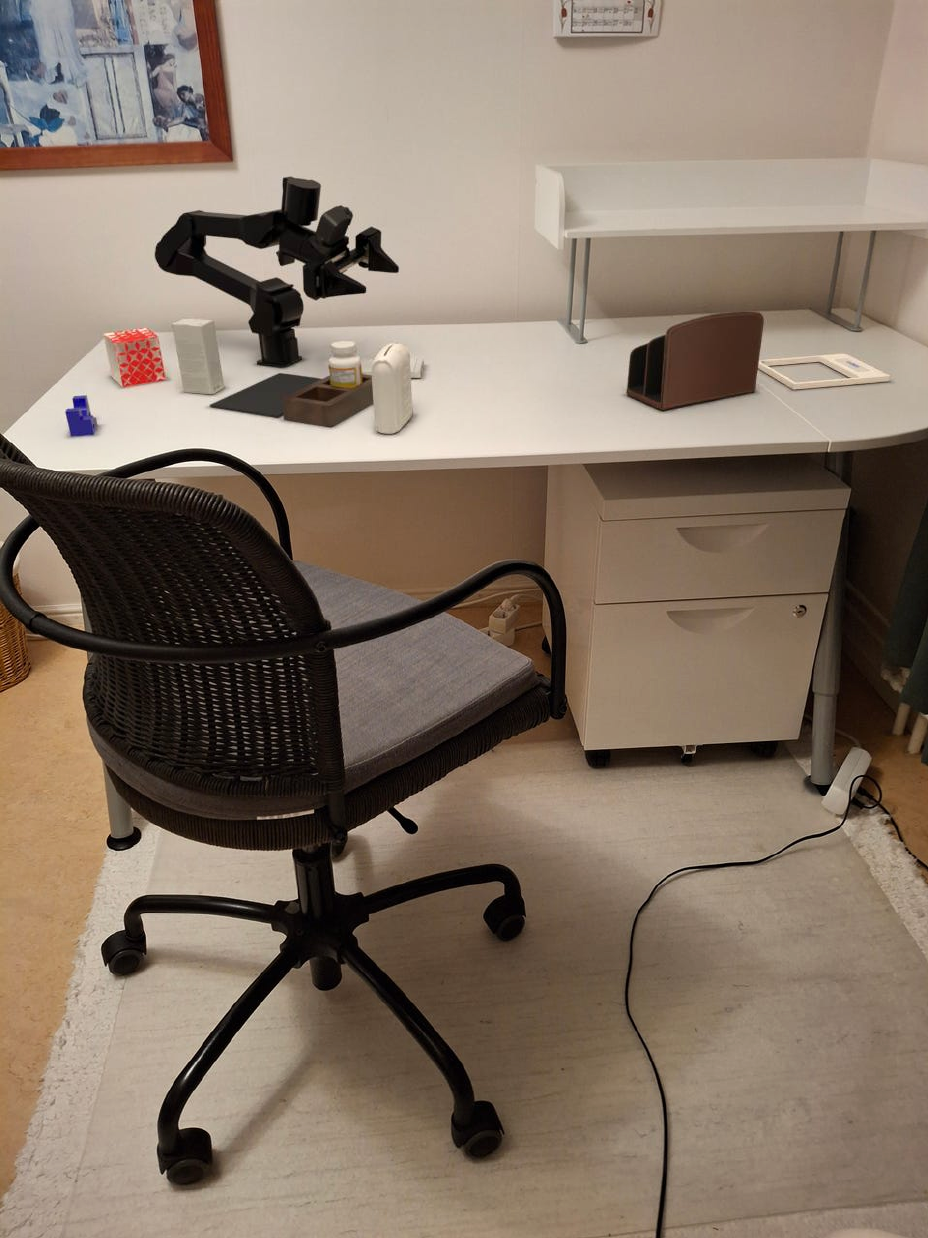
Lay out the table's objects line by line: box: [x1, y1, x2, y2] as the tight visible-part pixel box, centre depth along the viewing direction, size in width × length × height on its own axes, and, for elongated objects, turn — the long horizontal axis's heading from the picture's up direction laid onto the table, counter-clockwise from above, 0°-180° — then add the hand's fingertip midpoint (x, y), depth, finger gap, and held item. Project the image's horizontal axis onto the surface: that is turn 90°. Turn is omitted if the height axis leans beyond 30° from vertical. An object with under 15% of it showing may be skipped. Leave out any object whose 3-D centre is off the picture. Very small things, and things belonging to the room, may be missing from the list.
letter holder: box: [625, 311, 765, 411], centre depth 160 cm, size 10×20×14 cm, turn 117°
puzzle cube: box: [102, 327, 167, 388], centre depth 175 cm, size 8×8×8 cm
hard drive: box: [360, 358, 425, 379], centre depth 177 cm, size 2×8×12 cm
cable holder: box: [64, 394, 99, 437], centre depth 154 cm, size 8×4×4 cm, turn 10°
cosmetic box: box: [171, 317, 225, 395], centre depth 167 cm, size 6×4×12 cm
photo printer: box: [372, 342, 413, 435], centre depth 150 cm, size 10×4×12 cm, turn 168°
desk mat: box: [209, 372, 322, 419], centre depth 167 cm, size 14×20×1 cm
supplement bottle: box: [328, 340, 363, 388], centre depth 161 cm, size 5×5×10 cm
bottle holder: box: [282, 374, 374, 428], centre depth 160 cm, size 9×17×4 cm, turn 154°
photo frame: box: [758, 353, 891, 390], centre depth 171 cm, size 15×1×18 cm
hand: (382, 279), depth 164 cm, fingers open, 9 cm apart
